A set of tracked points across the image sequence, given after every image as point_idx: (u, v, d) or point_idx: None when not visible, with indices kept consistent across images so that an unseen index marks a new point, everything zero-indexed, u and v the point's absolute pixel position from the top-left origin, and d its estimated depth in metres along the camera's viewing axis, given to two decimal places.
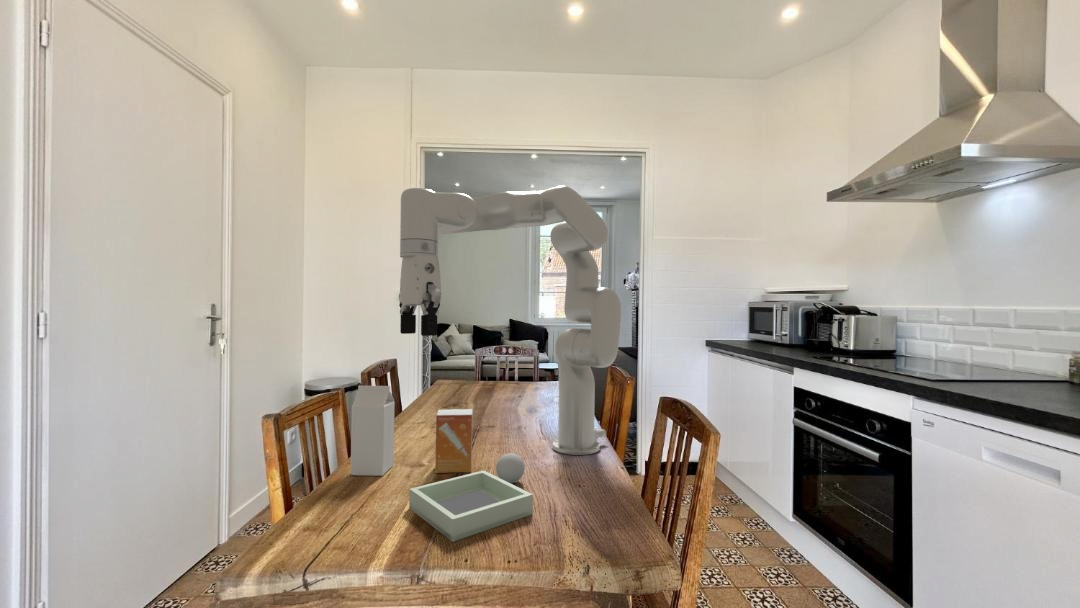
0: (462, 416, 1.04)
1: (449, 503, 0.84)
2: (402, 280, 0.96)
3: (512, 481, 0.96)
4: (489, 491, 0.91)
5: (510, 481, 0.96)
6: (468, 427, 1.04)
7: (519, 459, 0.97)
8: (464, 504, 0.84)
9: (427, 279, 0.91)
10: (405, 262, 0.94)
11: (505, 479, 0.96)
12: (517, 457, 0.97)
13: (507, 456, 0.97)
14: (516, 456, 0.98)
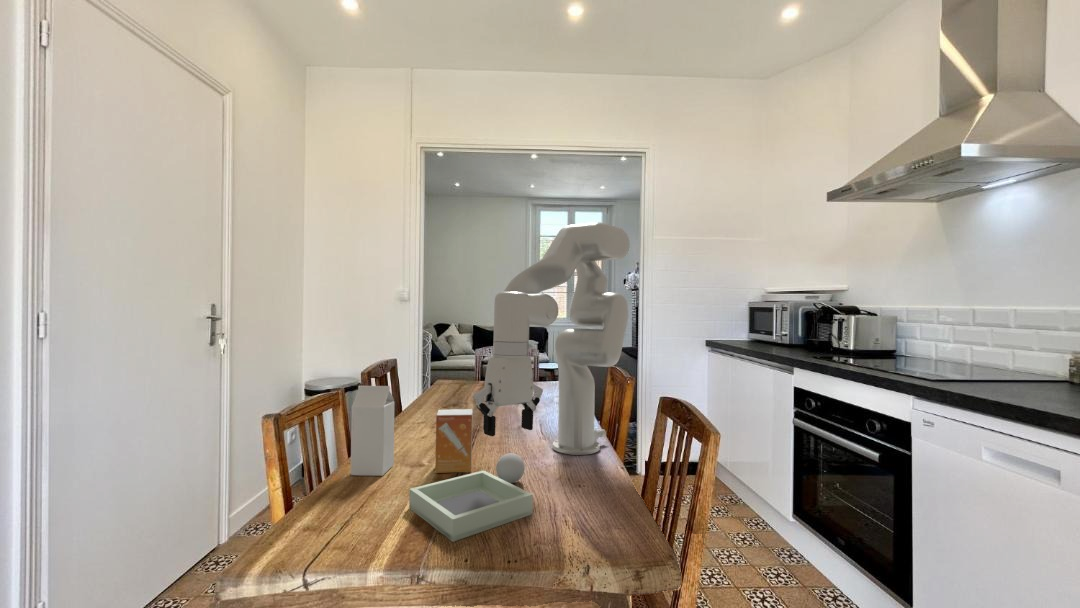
0: (462, 416, 1.04)
1: (449, 503, 0.84)
2: (506, 381, 0.95)
3: (512, 481, 0.96)
4: (489, 491, 0.91)
5: (510, 481, 0.96)
6: (468, 427, 1.04)
7: (519, 459, 0.97)
8: (464, 504, 0.84)
9: None
10: (514, 363, 0.96)
11: (505, 479, 0.96)
12: (517, 457, 0.97)
13: (507, 456, 0.97)
14: (516, 456, 0.98)
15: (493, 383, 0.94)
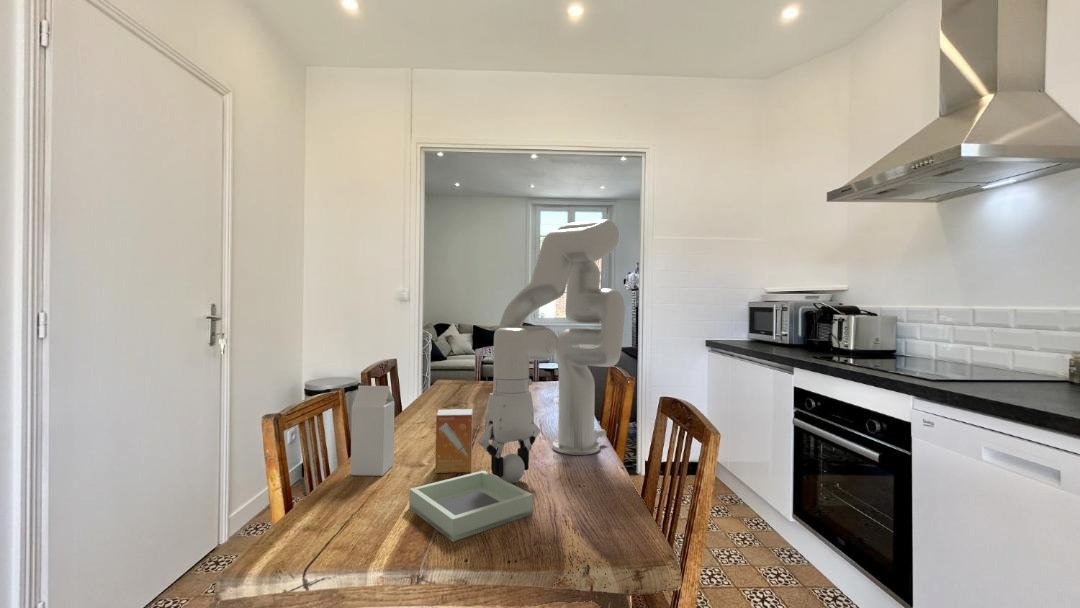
0: (462, 416, 1.04)
1: (449, 503, 0.84)
2: (506, 418, 0.95)
3: (512, 481, 0.96)
4: (489, 491, 0.91)
5: (510, 481, 0.96)
6: (468, 427, 1.04)
7: (519, 459, 0.97)
8: (464, 504, 0.84)
9: None
10: (515, 400, 0.96)
11: (505, 479, 0.96)
12: (517, 457, 0.97)
13: (507, 456, 0.97)
14: (516, 456, 0.98)
15: (494, 421, 0.94)
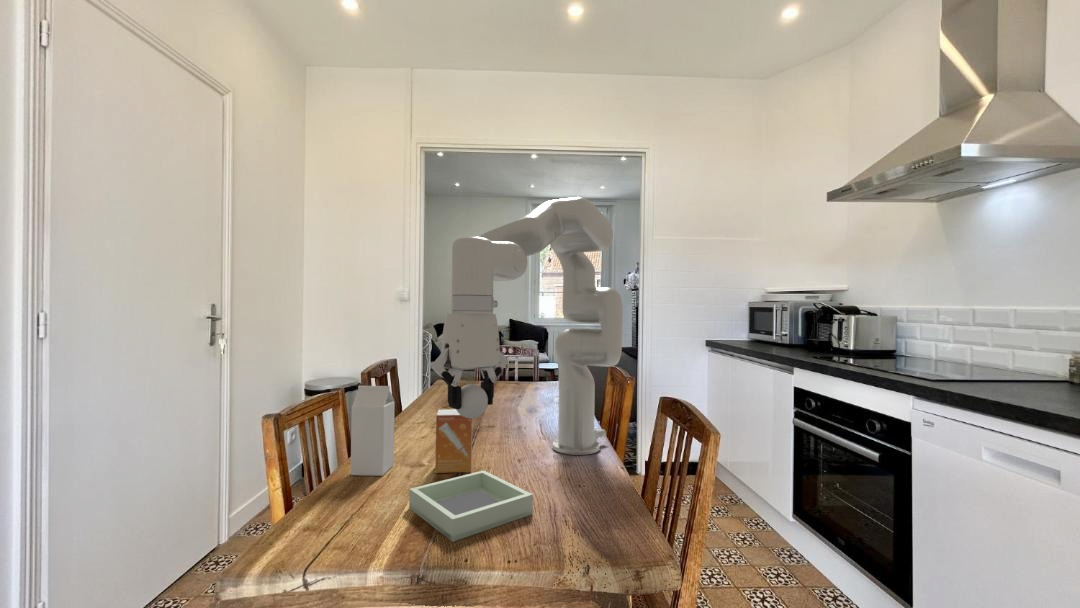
0: (462, 416, 1.04)
1: (449, 503, 0.84)
2: (465, 340, 0.81)
3: (472, 415, 0.82)
4: (489, 491, 0.91)
5: (470, 415, 0.82)
6: (468, 427, 1.04)
7: (481, 390, 0.83)
8: (464, 504, 0.84)
9: None
10: (476, 320, 0.82)
11: (464, 412, 0.82)
12: (479, 388, 0.83)
13: (466, 386, 0.83)
14: (478, 387, 0.84)
15: (451, 343, 0.80)
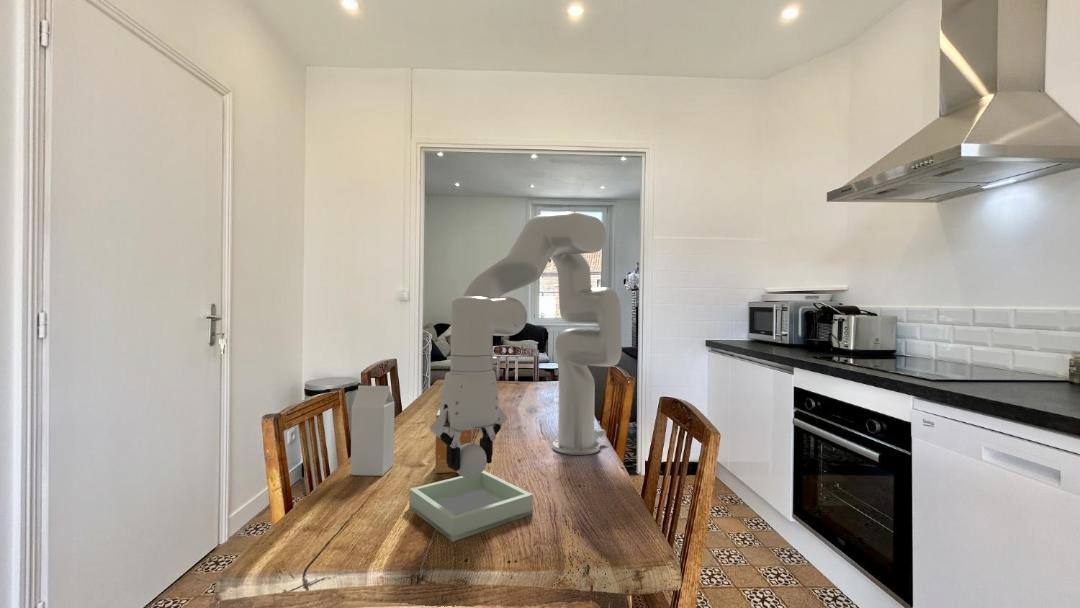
0: None
1: (449, 503, 0.84)
2: (464, 401, 0.81)
3: (471, 475, 0.82)
4: (489, 491, 0.91)
5: (468, 475, 0.82)
6: None
7: (480, 449, 0.83)
8: (464, 504, 0.84)
9: None
10: (475, 380, 0.82)
11: (462, 473, 0.81)
12: (478, 448, 0.83)
13: (465, 446, 0.83)
14: (476, 446, 0.83)
15: (450, 404, 0.80)
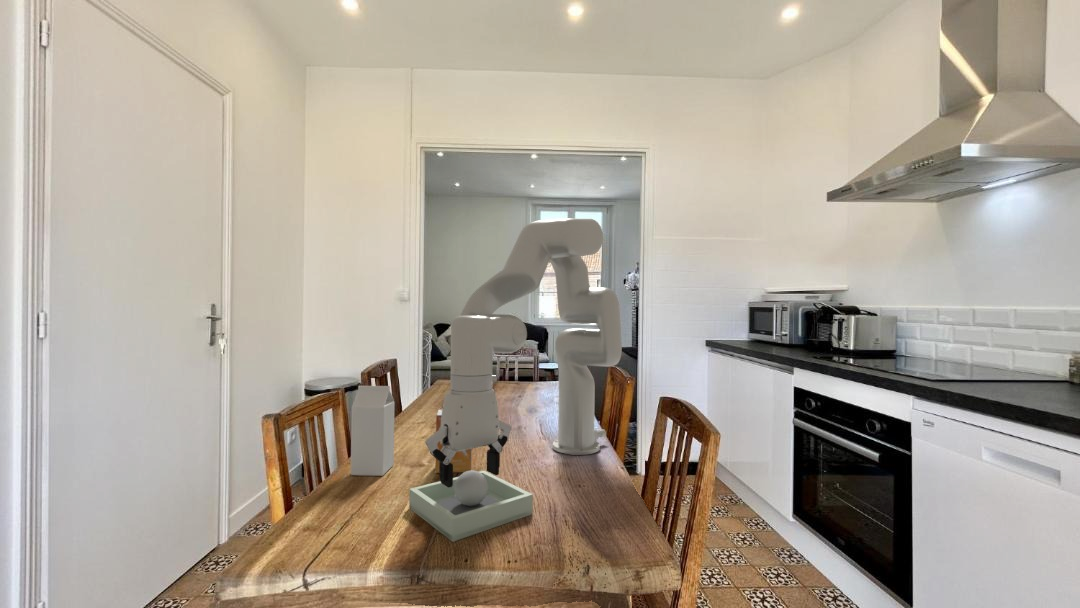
0: None
1: (449, 503, 0.84)
2: (464, 421, 0.81)
3: (472, 504, 0.82)
4: (489, 491, 0.91)
5: (469, 503, 0.82)
6: None
7: (481, 478, 0.83)
8: None
9: None
10: (475, 400, 0.82)
11: (463, 501, 0.82)
12: (480, 476, 0.83)
13: (467, 473, 0.83)
14: (478, 474, 0.84)
15: (450, 425, 0.80)
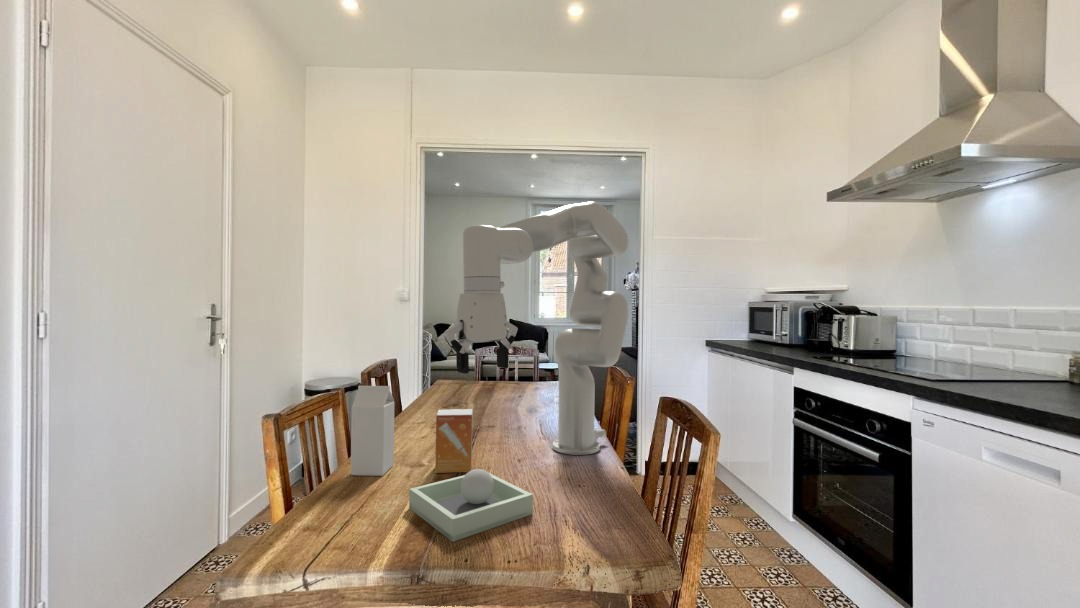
0: (462, 416, 1.04)
1: (449, 503, 0.84)
2: (478, 317, 0.92)
3: (474, 500, 0.82)
4: None
5: (472, 498, 0.82)
6: (468, 427, 1.04)
7: (491, 479, 0.85)
8: (464, 504, 0.84)
9: None
10: (486, 299, 0.93)
11: (468, 494, 0.82)
12: (490, 476, 0.85)
13: (479, 469, 0.85)
14: (489, 475, 0.85)
15: (465, 319, 0.91)
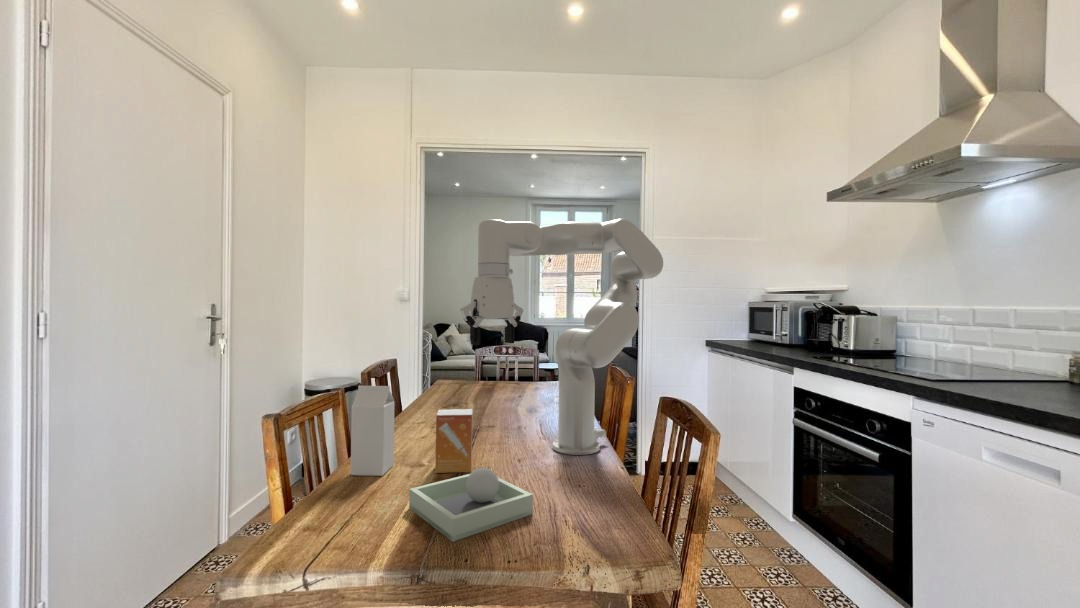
0: (462, 416, 1.04)
1: (449, 503, 0.84)
2: (489, 297, 1.08)
3: (478, 495, 0.83)
4: None
5: (476, 493, 0.83)
6: (468, 427, 1.04)
7: (498, 481, 0.85)
8: (464, 504, 0.84)
9: None
10: (497, 282, 1.09)
11: (474, 487, 0.83)
12: (497, 478, 0.86)
13: (489, 469, 0.86)
14: None
15: (478, 298, 1.07)
